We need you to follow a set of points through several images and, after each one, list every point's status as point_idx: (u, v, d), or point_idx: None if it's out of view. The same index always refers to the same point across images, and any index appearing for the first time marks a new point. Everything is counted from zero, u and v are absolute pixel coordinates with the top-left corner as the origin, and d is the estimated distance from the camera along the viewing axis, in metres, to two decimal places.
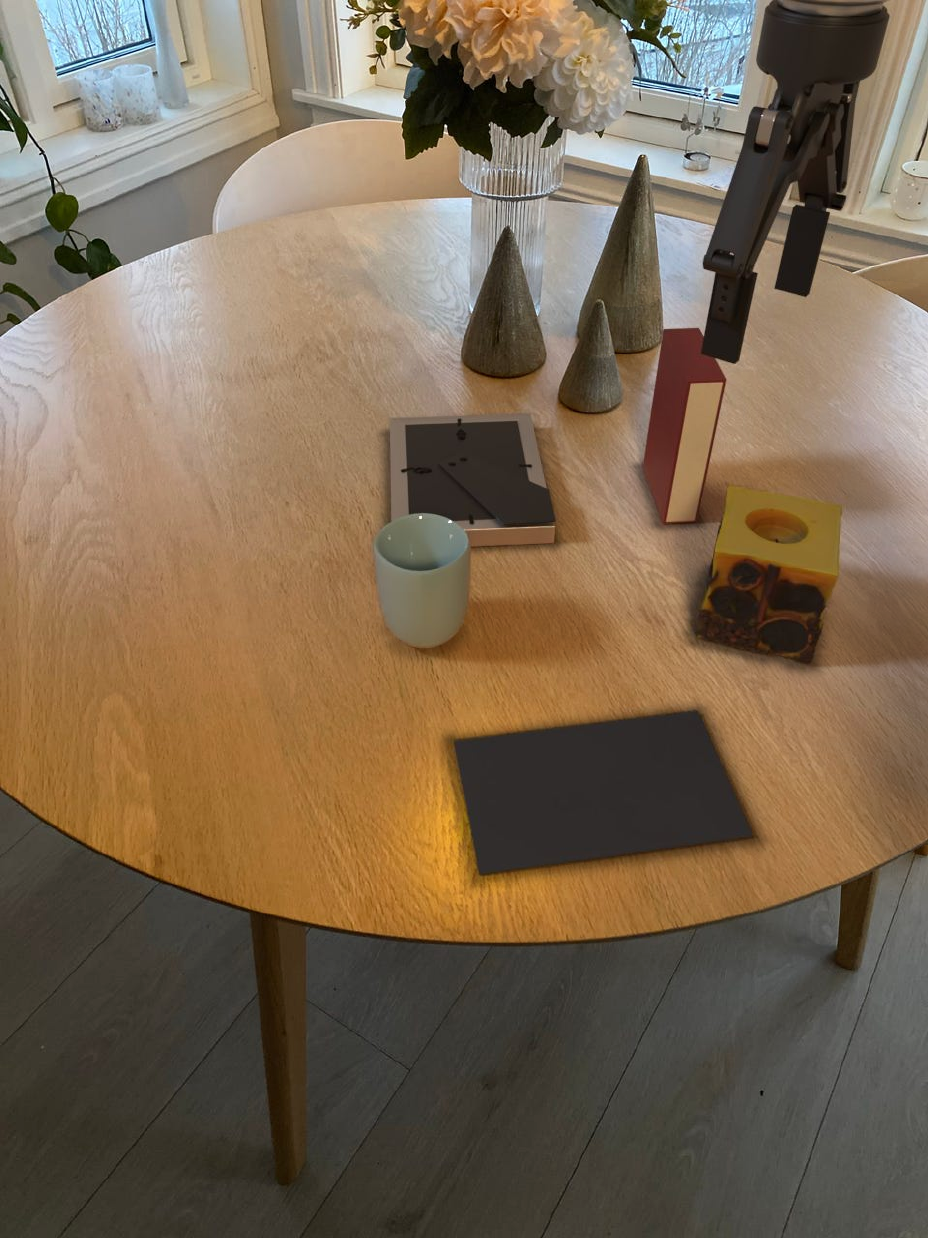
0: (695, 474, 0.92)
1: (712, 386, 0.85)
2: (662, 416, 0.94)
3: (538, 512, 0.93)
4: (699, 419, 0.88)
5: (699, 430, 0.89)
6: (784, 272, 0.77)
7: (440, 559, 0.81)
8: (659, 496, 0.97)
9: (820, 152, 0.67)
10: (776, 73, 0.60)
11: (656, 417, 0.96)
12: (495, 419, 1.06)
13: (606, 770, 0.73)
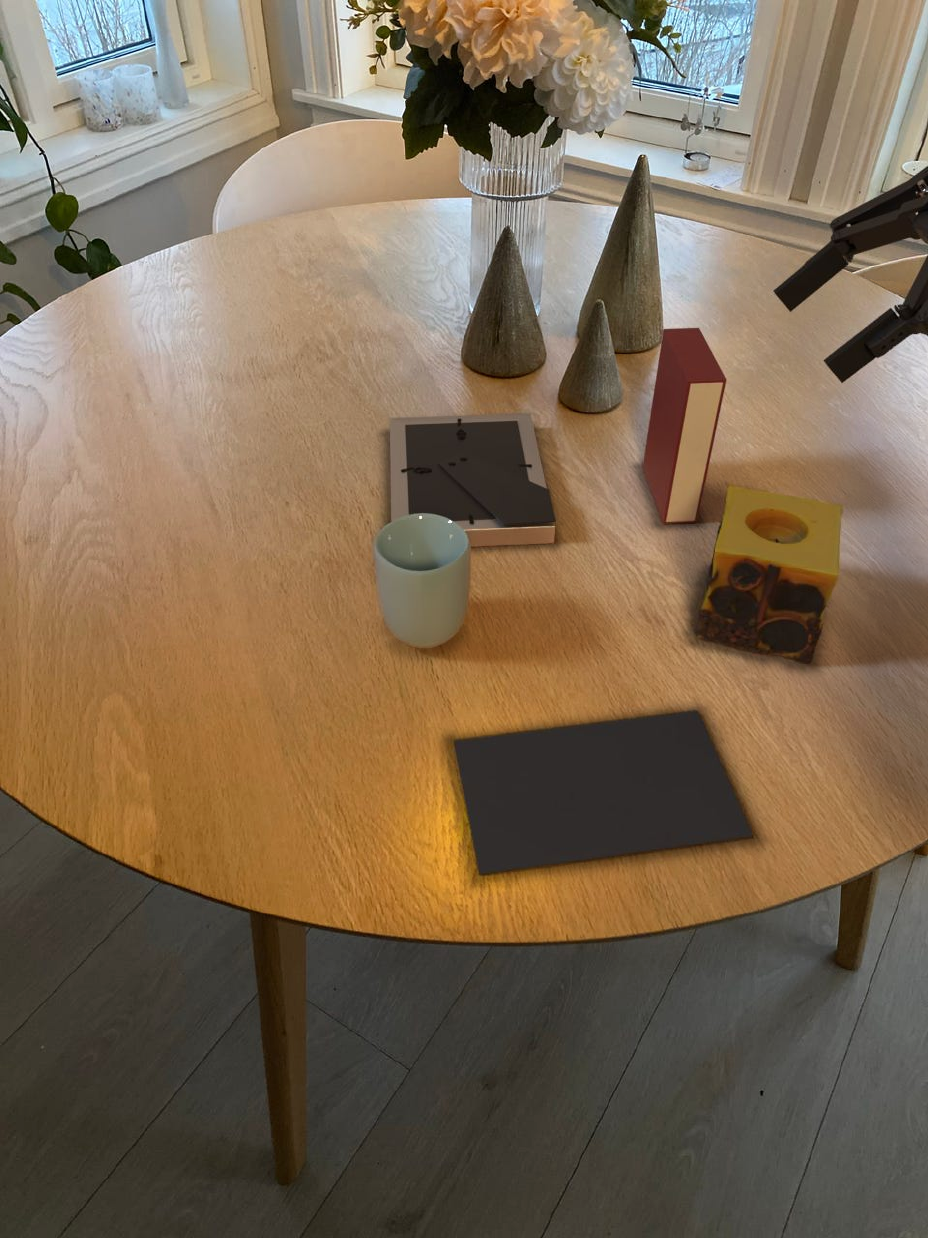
0: (695, 474, 0.92)
1: (712, 386, 0.85)
2: (662, 416, 0.94)
3: (538, 512, 0.93)
4: (699, 419, 0.88)
5: (699, 430, 0.88)
6: None
7: (440, 559, 0.81)
8: (659, 496, 0.97)
9: None
10: None
11: (656, 417, 0.96)
12: (495, 419, 1.06)
13: (606, 770, 0.73)
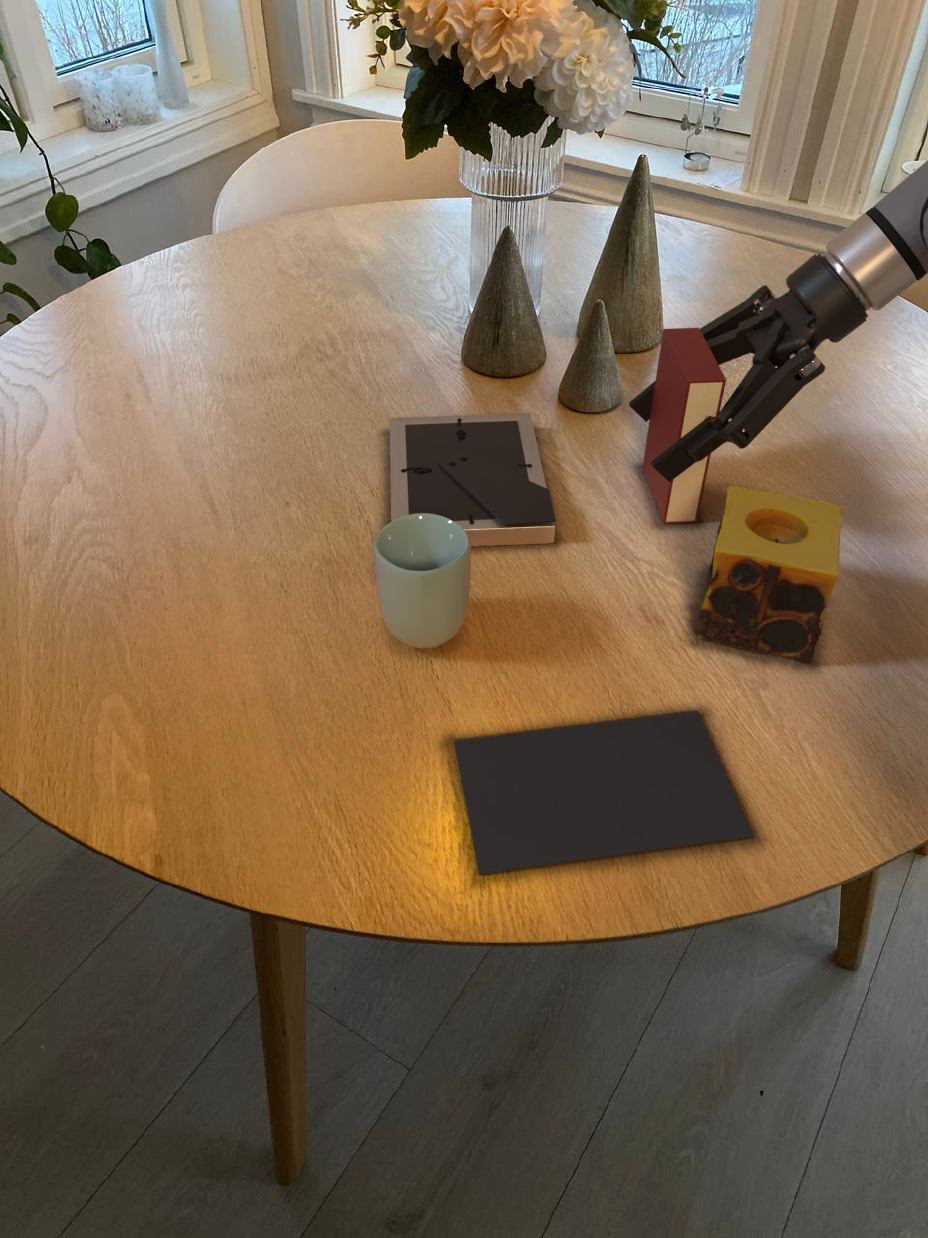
0: (694, 474, 0.92)
1: (712, 386, 0.85)
2: (662, 416, 0.94)
3: (538, 512, 0.93)
4: (699, 419, 0.88)
5: None
6: None
7: (440, 559, 0.81)
8: (659, 496, 0.97)
9: None
10: None
11: (656, 417, 0.96)
12: (495, 419, 1.06)
13: (606, 770, 0.73)
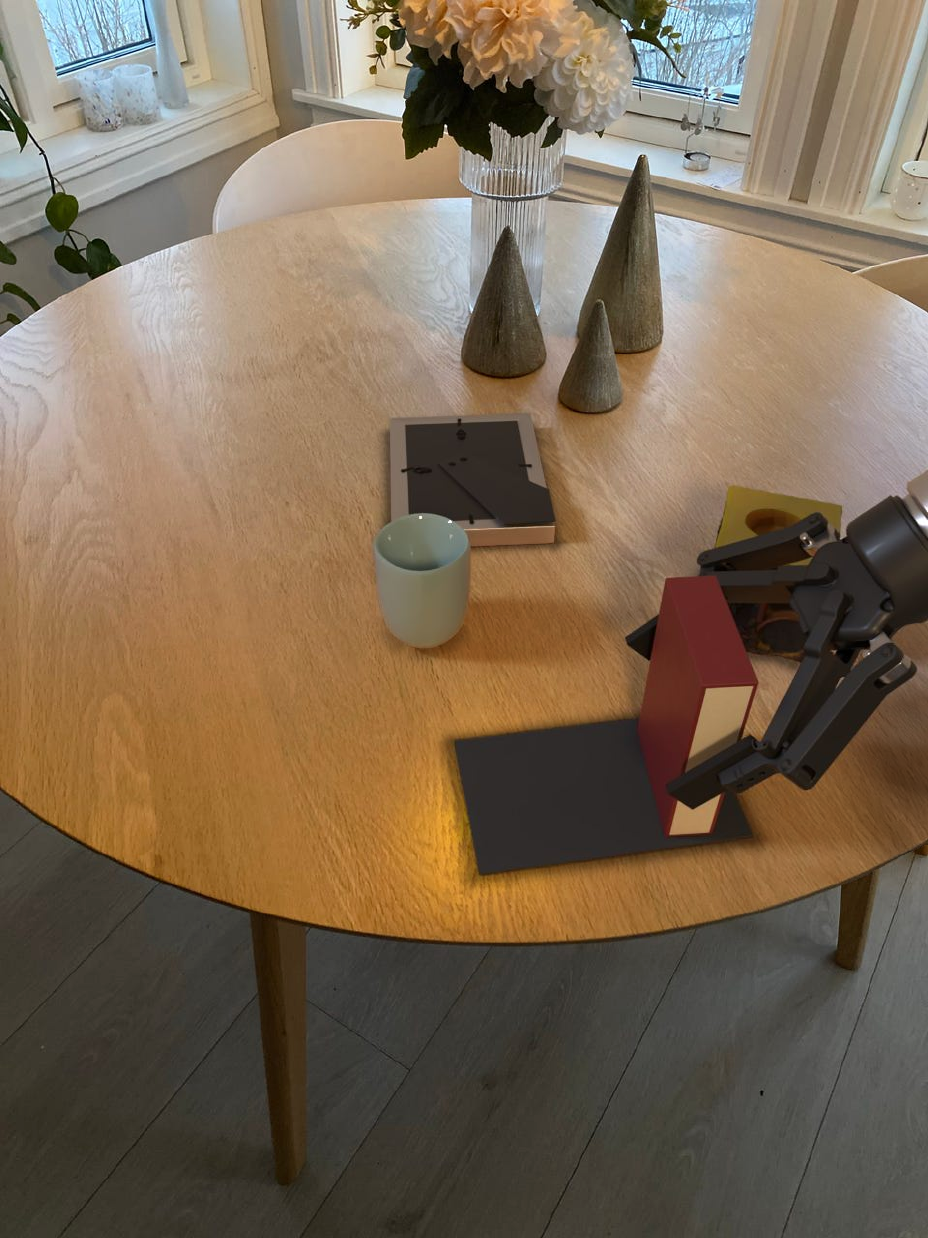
0: None
1: (737, 691, 0.58)
2: (664, 694, 0.67)
3: (538, 512, 0.93)
4: (718, 727, 0.61)
5: (717, 739, 0.61)
6: None
7: (440, 559, 0.81)
8: (660, 795, 0.69)
9: None
10: None
11: (655, 686, 0.69)
12: (495, 419, 1.06)
13: (606, 770, 0.73)
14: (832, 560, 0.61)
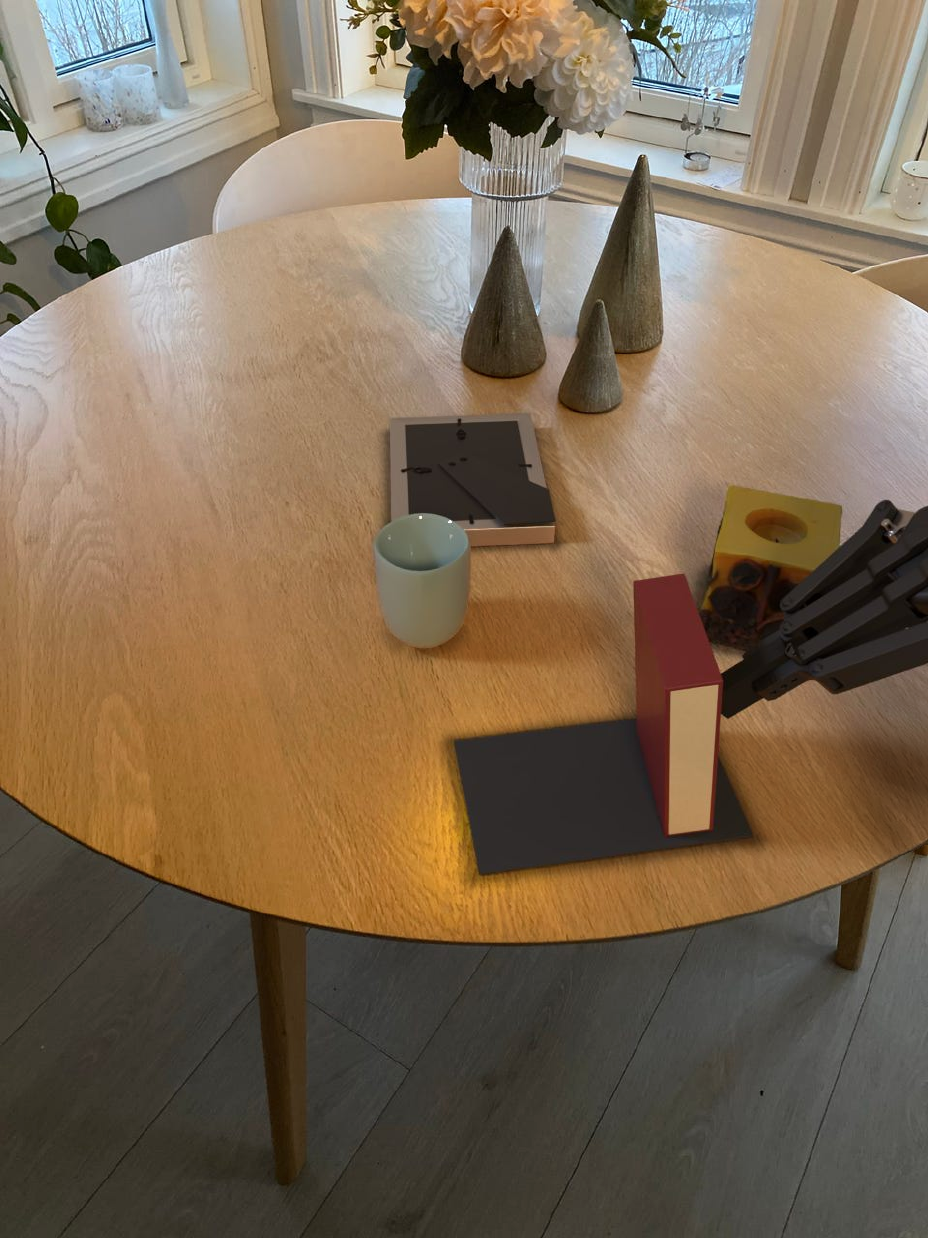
0: (699, 784, 0.65)
1: (703, 691, 0.58)
2: (646, 696, 0.67)
3: (538, 512, 0.93)
4: (692, 727, 0.60)
5: (694, 739, 0.61)
6: None
7: (440, 559, 0.81)
8: (656, 795, 0.69)
9: None
10: None
11: (641, 688, 0.69)
12: (495, 419, 1.06)
13: (606, 770, 0.73)
14: None
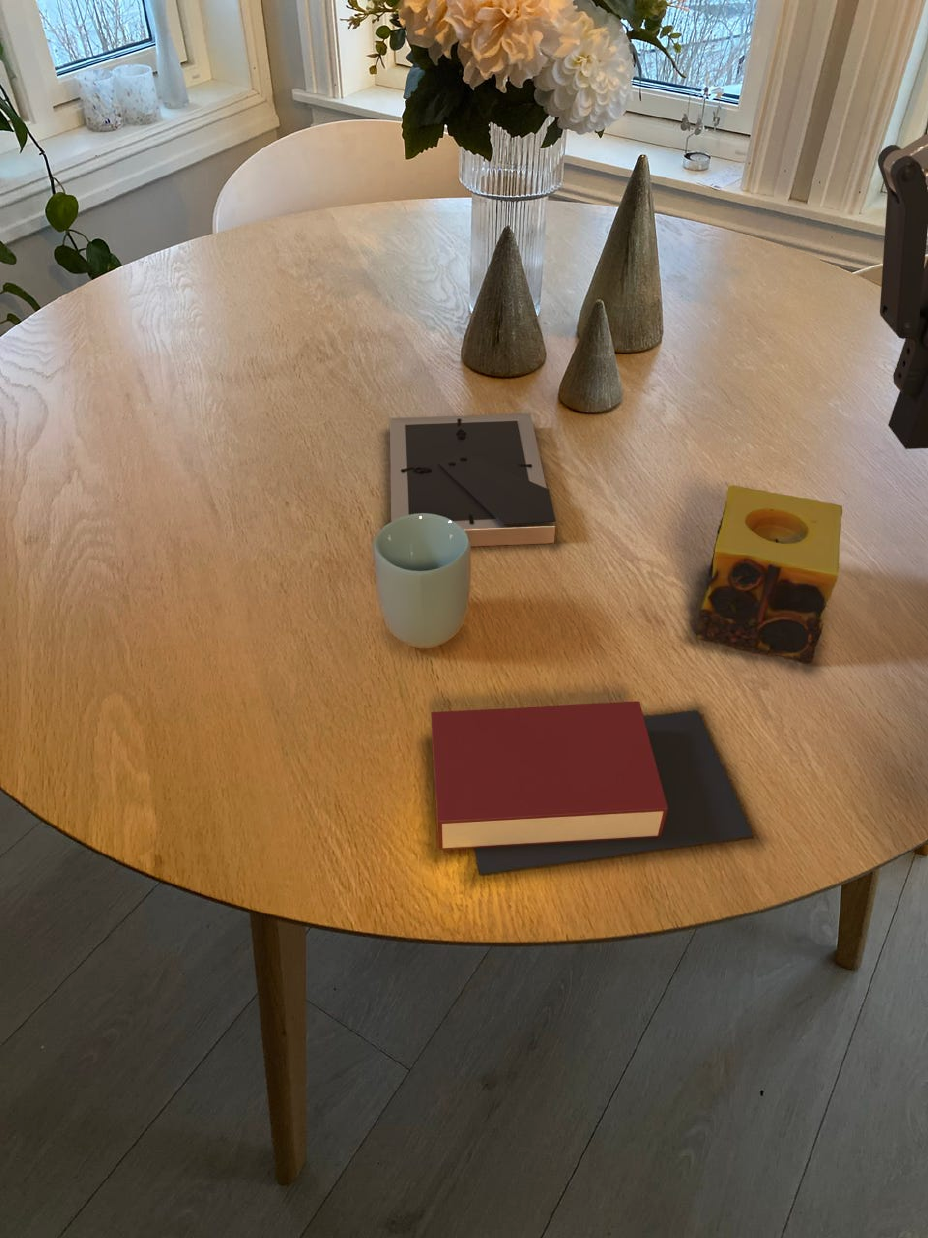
0: (583, 823, 0.67)
1: (447, 831, 0.66)
2: None
3: (538, 512, 0.93)
4: (495, 833, 0.67)
5: (512, 831, 0.67)
6: None
7: (440, 559, 0.81)
8: None
9: None
10: None
11: None
12: (495, 419, 1.06)
13: None
14: None
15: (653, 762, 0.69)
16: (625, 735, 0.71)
